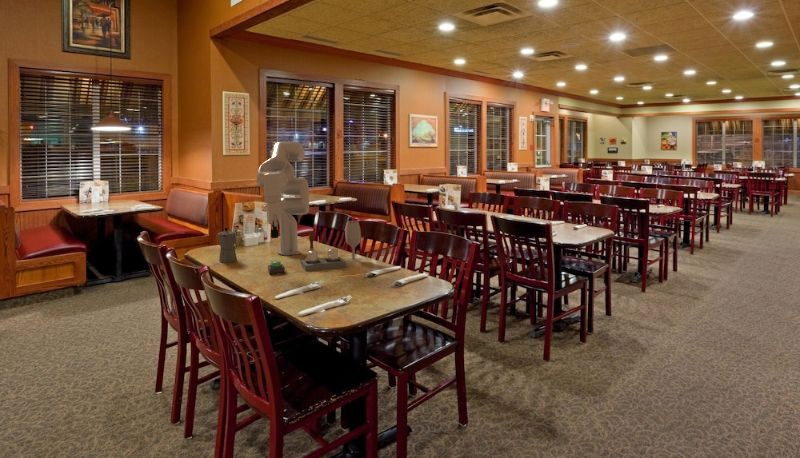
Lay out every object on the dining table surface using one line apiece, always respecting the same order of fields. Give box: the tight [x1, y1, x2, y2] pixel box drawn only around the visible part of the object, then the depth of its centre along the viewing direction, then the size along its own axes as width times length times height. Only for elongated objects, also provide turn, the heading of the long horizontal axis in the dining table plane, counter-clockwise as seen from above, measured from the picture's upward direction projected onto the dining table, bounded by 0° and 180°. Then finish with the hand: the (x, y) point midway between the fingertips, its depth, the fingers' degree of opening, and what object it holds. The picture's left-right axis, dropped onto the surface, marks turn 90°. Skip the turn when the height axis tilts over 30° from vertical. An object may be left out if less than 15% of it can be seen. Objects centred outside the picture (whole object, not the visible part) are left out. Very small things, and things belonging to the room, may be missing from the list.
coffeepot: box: [216, 227, 238, 264], centre depth 267 cm, size 15×9×18 cm, turn 8°
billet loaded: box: [327, 248, 339, 262], centre depth 252 cm, size 5×5×8 cm
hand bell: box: [304, 230, 320, 260], centre depth 265 cm, size 8×8×16 cm
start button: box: [270, 260, 282, 268], centre depth 242 cm, size 4×4×2 cm
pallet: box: [300, 256, 347, 272], centre depth 250 cm, size 12×20×4 cm, turn 112°
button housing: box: [267, 263, 286, 276], centre depth 242 cm, size 7×7×3 cm
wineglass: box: [344, 220, 362, 263], centre depth 263 cm, size 9×9×21 cm
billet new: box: [306, 249, 319, 264], centre depth 248 cm, size 5×5×8 cm
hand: (274, 237), depth 239 cm, fingers closed
